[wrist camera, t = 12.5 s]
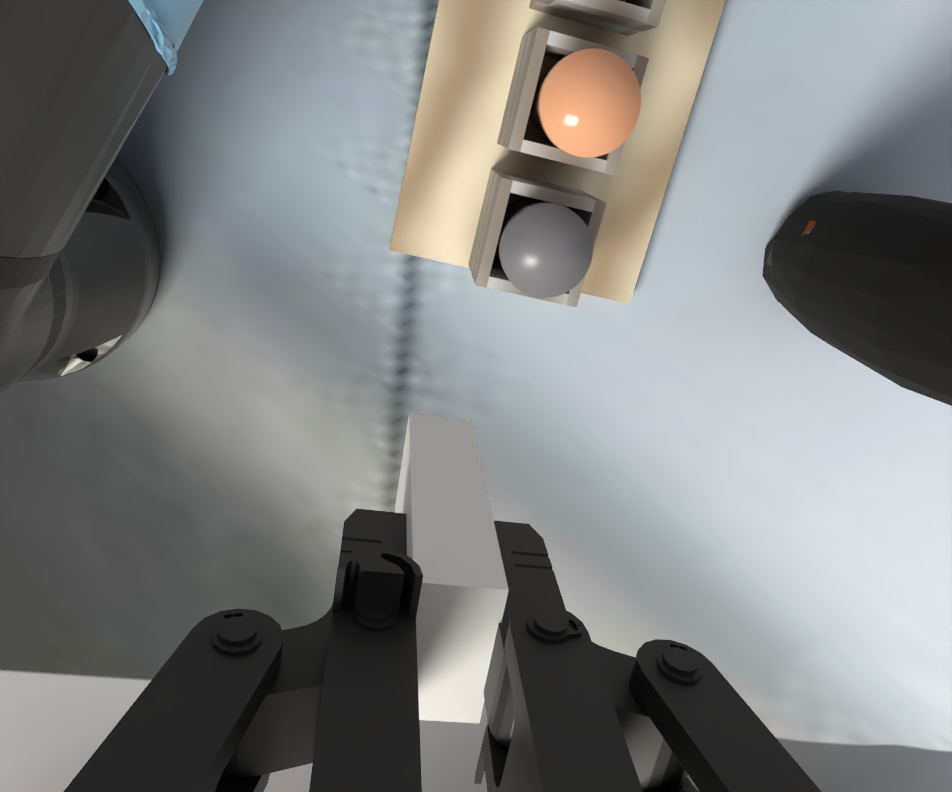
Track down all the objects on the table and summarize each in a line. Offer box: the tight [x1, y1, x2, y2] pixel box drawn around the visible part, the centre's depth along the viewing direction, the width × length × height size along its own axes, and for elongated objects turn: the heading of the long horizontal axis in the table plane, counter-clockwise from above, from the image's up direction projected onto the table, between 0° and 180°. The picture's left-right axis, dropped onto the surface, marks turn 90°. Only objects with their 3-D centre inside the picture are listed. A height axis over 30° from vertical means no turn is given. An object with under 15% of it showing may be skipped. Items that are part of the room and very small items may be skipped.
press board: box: [390, 0, 726, 307], centre depth 40 cm, size 15×20×7 cm
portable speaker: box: [763, 191, 952, 406], centre depth 38 cm, size 9×9×20 cm
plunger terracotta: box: [530, 48, 641, 158], centre depth 37 cm, size 5×5×7 cm
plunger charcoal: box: [498, 198, 593, 298], centre depth 40 cm, size 5×5×7 cm
